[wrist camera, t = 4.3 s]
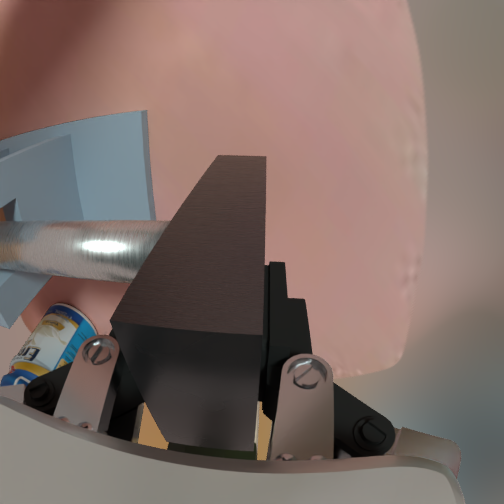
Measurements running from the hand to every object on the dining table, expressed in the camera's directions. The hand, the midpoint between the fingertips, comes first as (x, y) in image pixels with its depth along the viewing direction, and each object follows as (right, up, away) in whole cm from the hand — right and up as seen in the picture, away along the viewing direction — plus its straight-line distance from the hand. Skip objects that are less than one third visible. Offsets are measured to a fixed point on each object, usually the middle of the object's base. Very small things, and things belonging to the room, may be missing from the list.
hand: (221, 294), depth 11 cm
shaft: (-7, +5, +9) cm, 12 cm away
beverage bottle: (-23, -8, +23) cm, 33 cm away
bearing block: (-18, +8, +13) cm, 24 cm away
